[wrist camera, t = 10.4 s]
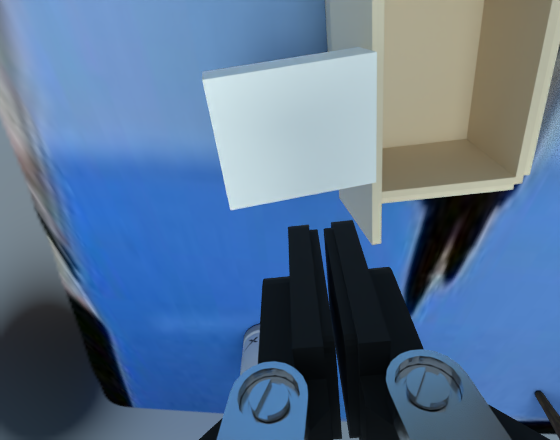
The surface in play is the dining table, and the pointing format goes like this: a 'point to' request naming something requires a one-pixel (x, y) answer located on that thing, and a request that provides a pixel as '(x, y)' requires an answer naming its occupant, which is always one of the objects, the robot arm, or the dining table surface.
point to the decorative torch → (549, 411)
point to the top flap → (307, 120)
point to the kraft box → (462, 93)
